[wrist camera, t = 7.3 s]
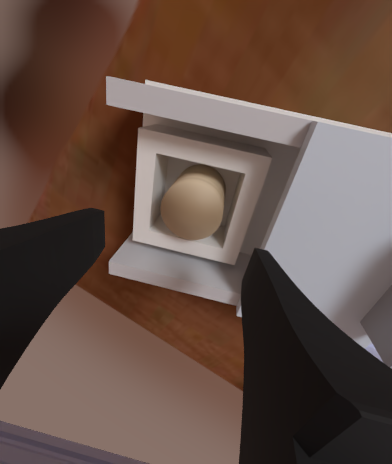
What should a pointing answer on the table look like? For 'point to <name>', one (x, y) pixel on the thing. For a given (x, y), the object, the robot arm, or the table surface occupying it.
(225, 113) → the housing
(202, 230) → the beige cylinder
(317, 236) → the lid
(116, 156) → the table surface
